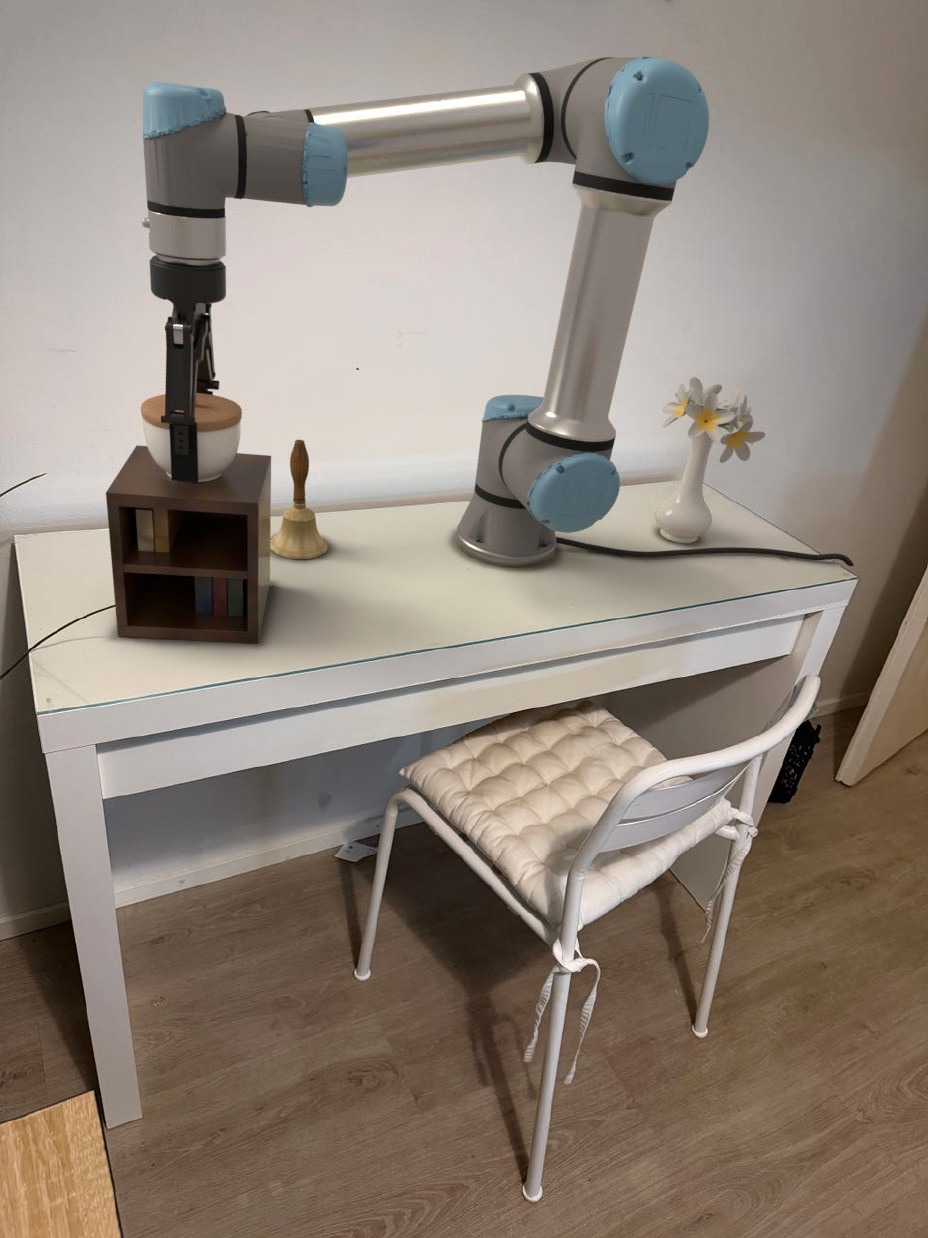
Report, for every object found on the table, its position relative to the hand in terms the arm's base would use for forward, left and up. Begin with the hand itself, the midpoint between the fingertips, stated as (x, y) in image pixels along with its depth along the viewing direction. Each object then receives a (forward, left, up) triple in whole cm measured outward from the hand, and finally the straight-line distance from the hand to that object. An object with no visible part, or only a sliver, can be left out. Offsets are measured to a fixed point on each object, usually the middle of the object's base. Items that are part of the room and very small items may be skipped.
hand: (193, 461), depth 104 cm
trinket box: (0, 0, -2) cm, 2 cm away
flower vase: (-73, -33, -20) cm, 82 cm away
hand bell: (-11, -20, -20) cm, 30 cm away
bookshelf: (0, 0, -19) cm, 19 cm away
